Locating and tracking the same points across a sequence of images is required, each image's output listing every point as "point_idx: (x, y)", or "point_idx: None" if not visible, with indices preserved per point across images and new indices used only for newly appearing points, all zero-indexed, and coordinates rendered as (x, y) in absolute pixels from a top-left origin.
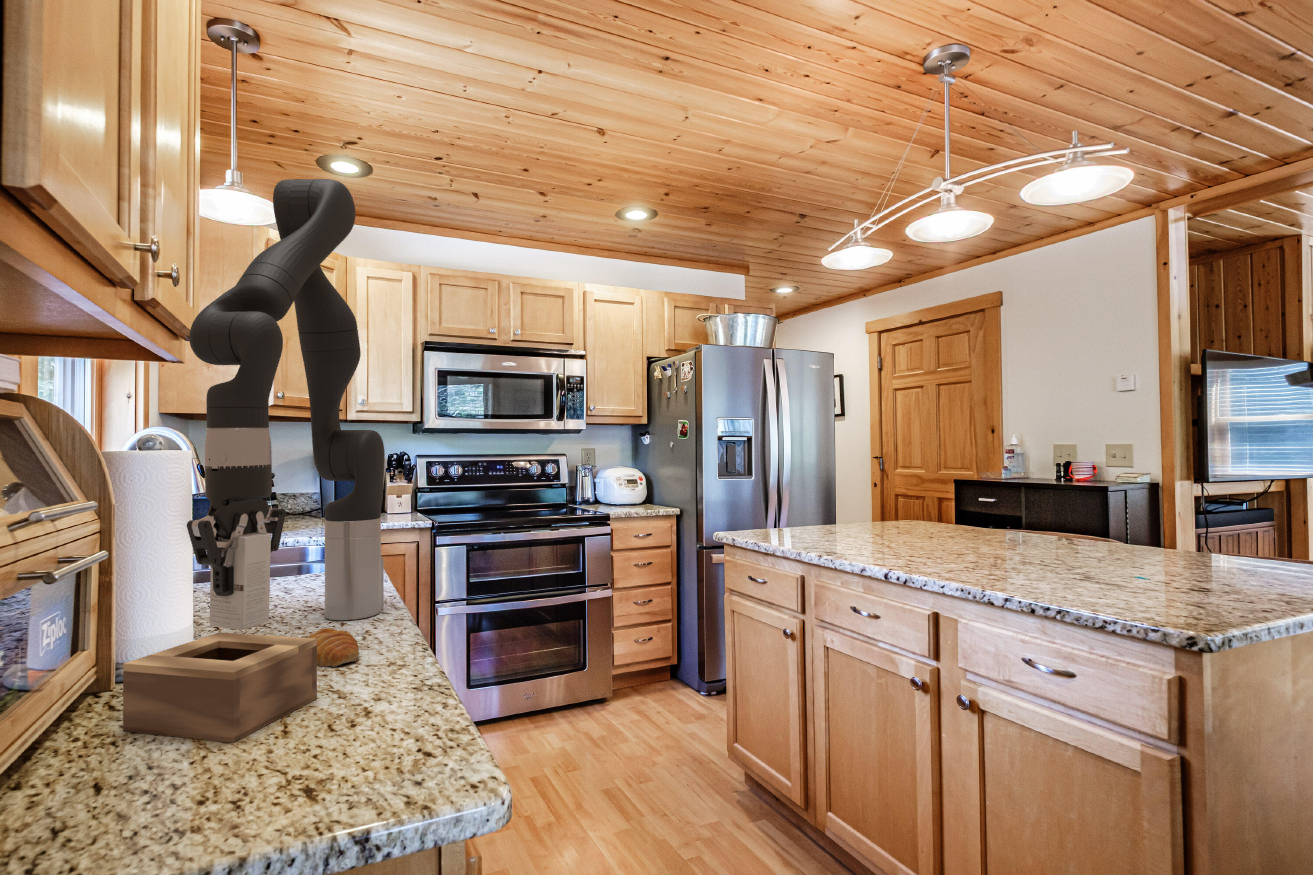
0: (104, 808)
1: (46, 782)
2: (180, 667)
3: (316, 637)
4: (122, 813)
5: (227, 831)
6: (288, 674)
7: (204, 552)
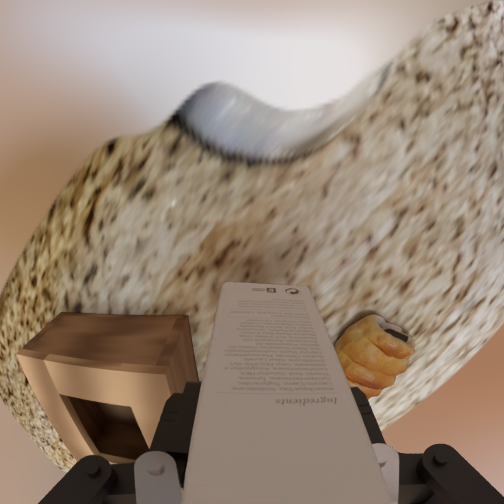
0: (26, 399)
1: (8, 338)
2: (53, 425)
3: (365, 362)
4: (32, 411)
5: (61, 458)
6: None
7: (93, 500)
